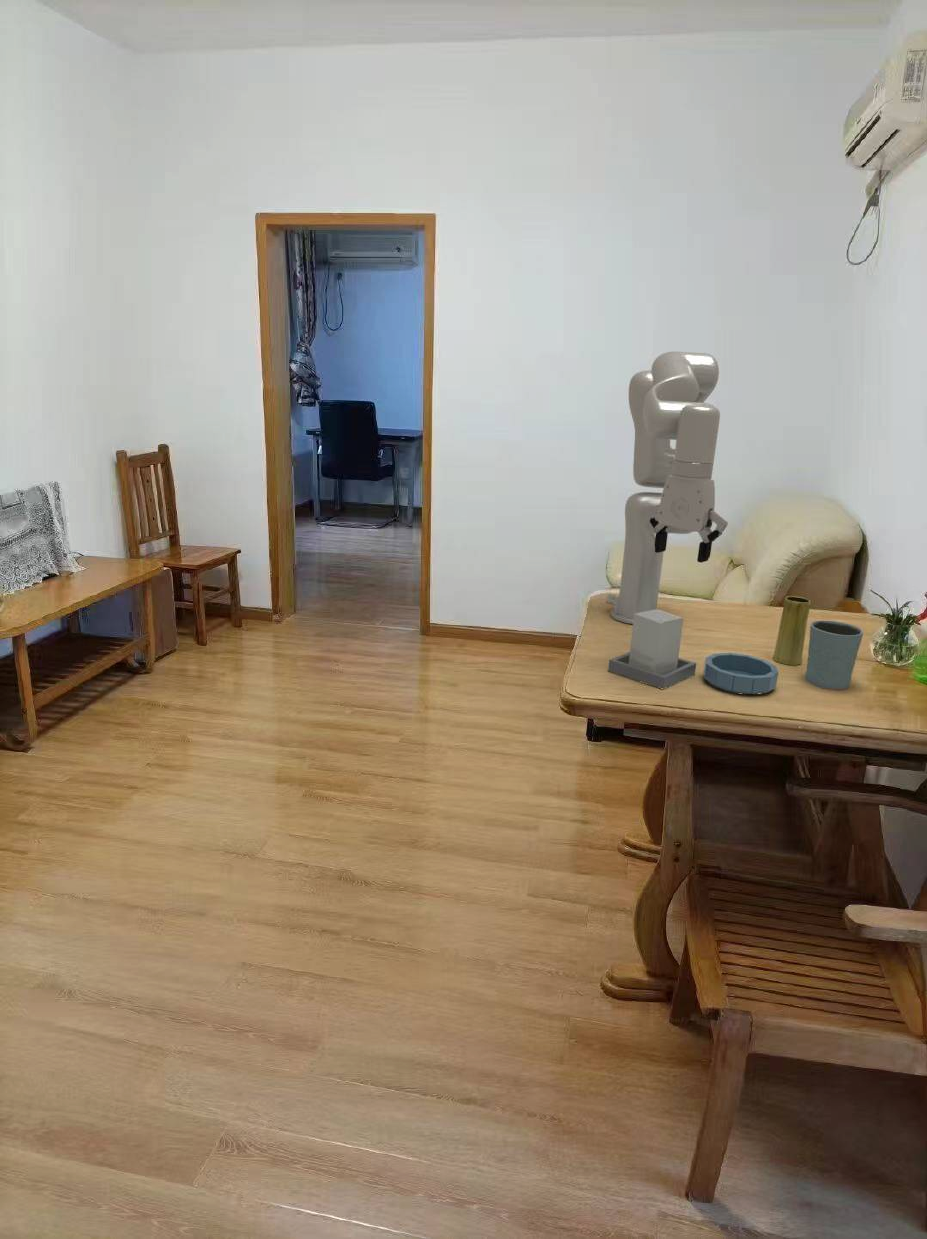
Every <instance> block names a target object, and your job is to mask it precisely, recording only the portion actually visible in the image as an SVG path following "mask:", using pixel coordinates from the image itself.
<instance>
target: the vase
mask: <svg viewBox="0 0 927 1239" xmlns="http://www.w3.org/2000/svg"><path fill="white" fill-rule="evenodd" d="M811 603H812V602H811V600H810V599H807V598H806V597H802V596H796V595H788V596H785V598H784V602H783V607H782V612H781V618H780V624H779V628H778V633H777V637H776V638H777V639H776V643H775V647H774V653H773V654H772V659H773V661H775V662H777V663H779V664H782V665H786V666H787V665H788V666H798V665H801V664H802V662H803V661H802V660H803V653H804V645H805V638H806V631H807V624H808V619H809V613H810V607H811Z"/></svg>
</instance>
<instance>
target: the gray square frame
mask: <svg viewBox="0 0 927 1239" xmlns="http://www.w3.org/2000/svg"><path fill="white" fill-rule="evenodd" d="M629 655H630V651H629V652H625V653H623V654H621V655H619V656H615V657H613V658H611V659H609V660H608V668H607V671H608V672H610V673H613V674H616V675H618V676H621V675H623V676H622V677H624V676H625V678H627V679H630V680H632V681H636V680H637V682H639V681H642V682H644V683H643V684H645V683H647V684H646V685H648V684H650V685H649V686H651V685H652V686H651V687H654V686H655V687H654V688H657V687H660V688H663V689H664V688H665V687H668V688H670V687H672V686H674V685H676V684H678V683H680V682H681V681H684V680H686V679H688V678H690V677H693V676H694V675H696V669H697V668H696V667H697V662H694V661H691V660H688V659H684V658H681V657H678V664H677V669H676V670H673V671H671V672H669V673H667V674H665V675H660V674H657V673H654V672H651V671H648V670H645V669H642V668H639V667H636V666H633V665H629ZM679 681H680V682H679ZM642 682H641V683H642ZM677 682H678V683H677ZM675 683H676V684H675ZM673 684H674V685H673ZM671 685H672V686H671ZM669 686H670V687H669ZM660 688H659V689H660ZM663 689H662V690H663ZM664 690H665V689H664Z"/></svg>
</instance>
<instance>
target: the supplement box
mask: <svg viewBox="0 0 927 1239" xmlns="http://www.w3.org/2000/svg"><path fill="white" fill-rule="evenodd" d="M683 625H684V618H683V617H681V616H678V615H675V614H672V613H670V612H667V611H664V610H662V609H658V608H656V610H650V611H645V612H640V613H635V614H634V620H633V624H632V630H631V637H630V638H631V639H630V647H629V652H630V655H629V665H633V666H636V667H639V668H642V669H645V670H648V671H651V672H654V673H657V674H660V675H665V674H667V673H669V672H671V671H673V670H676V669H677V664H678V658H679V654H680V648H681V640H682V634H683V633H682V631H683Z"/></svg>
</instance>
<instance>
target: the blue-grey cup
mask: <svg viewBox="0 0 927 1239" xmlns="http://www.w3.org/2000/svg"><path fill="white" fill-rule="evenodd" d="M863 636H864V631H863V629H861V628H860V627H858V626H856V625H853V624H850V623H847V622H846V623H845V622H840V621H835V620H834V621H833V620H816V621H813V622H811V623H810V628H809V642H808V650H807V651H808V652H807V654H808V656H807V662H806V663H807V664H806V672H805V680H806V681H807V683H809V684H810V685H813V686H816V687H818V688H821V689H827V690H835V691H836V690H837V691H841V690H846V689H848V688H849V687H850V684H851V681H852V675H853V671H854V668H855V665H856V661H857V660H856V659H857V657H858V652H859V649H860V646H861V643H862V639H863Z"/></svg>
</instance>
